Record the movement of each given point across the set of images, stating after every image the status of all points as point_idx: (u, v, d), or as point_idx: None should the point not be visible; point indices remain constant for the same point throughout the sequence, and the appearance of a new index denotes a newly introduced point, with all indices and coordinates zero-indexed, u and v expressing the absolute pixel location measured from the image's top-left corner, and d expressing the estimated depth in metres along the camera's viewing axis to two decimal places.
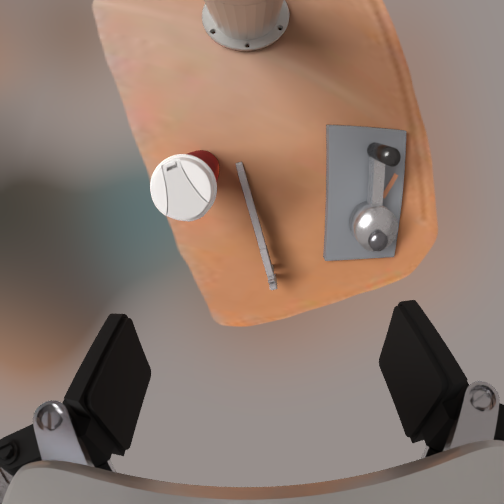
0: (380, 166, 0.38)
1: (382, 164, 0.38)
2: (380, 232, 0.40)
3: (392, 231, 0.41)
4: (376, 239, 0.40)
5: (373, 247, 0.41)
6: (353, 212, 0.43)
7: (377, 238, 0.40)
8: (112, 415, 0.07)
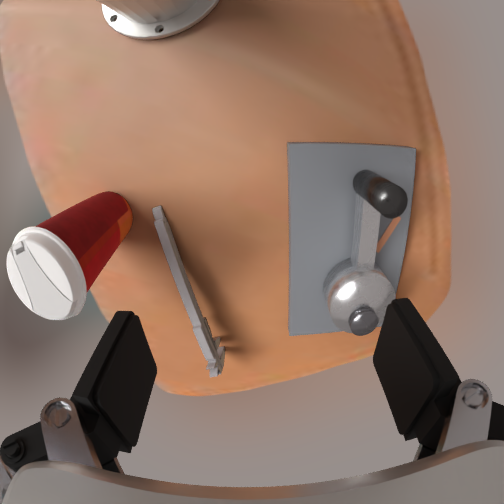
0: (373, 210, 0.24)
1: None
2: (367, 311, 0.27)
3: (386, 306, 0.27)
4: (360, 321, 0.27)
5: (355, 331, 0.27)
6: (329, 276, 0.30)
7: (362, 320, 0.27)
8: (120, 412, 0.07)
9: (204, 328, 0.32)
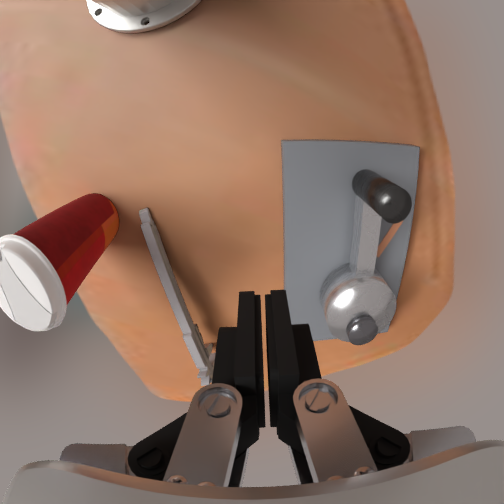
0: (373, 213, 0.22)
1: None
2: (366, 320, 0.25)
3: (386, 314, 0.26)
4: (358, 330, 0.25)
5: (353, 341, 0.26)
6: (326, 282, 0.28)
7: (360, 329, 0.25)
8: None
9: (195, 335, 0.30)
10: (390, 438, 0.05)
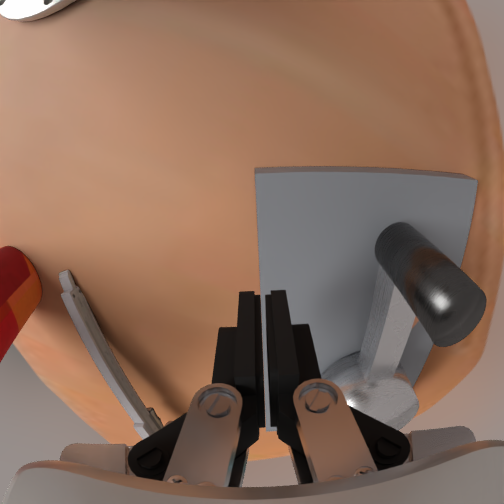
0: None
1: None
2: None
3: (403, 419, 0.16)
4: None
5: None
6: None
7: None
8: None
9: (149, 424, 0.20)
10: (390, 438, 0.05)
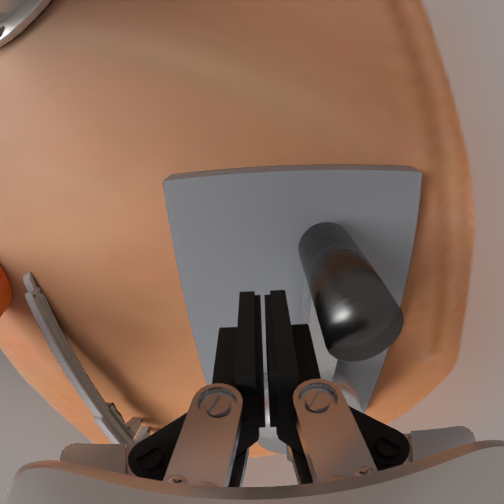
0: None
1: None
2: None
3: None
4: None
5: None
6: None
7: None
8: None
9: (109, 418, 0.20)
10: (390, 438, 0.05)
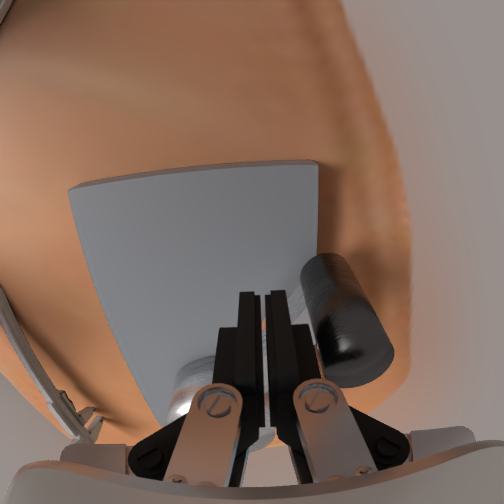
0: (310, 330, 0.13)
1: None
2: None
3: None
4: None
5: None
6: (192, 367, 0.18)
7: None
8: None
9: (59, 404, 0.20)
10: (390, 438, 0.05)
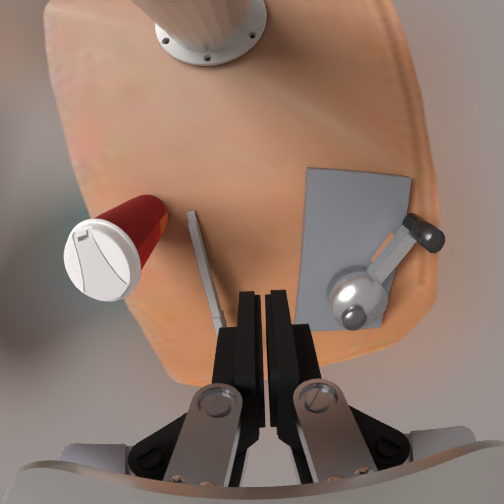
0: (408, 242, 0.31)
1: (412, 242, 0.31)
2: (363, 311, 0.32)
3: (373, 317, 0.33)
4: (354, 315, 0.32)
5: (345, 322, 0.32)
6: (345, 270, 0.35)
7: (356, 315, 0.32)
8: None
9: (222, 319, 0.37)
10: (390, 438, 0.05)
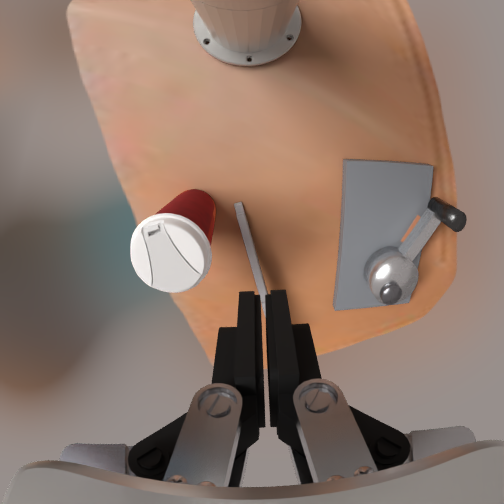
0: (434, 223, 0.33)
1: (437, 222, 0.33)
2: (398, 286, 0.35)
3: (406, 291, 0.36)
4: (391, 291, 0.35)
5: (384, 297, 0.35)
6: (380, 251, 0.37)
7: (393, 290, 0.35)
8: None
9: None
10: (390, 438, 0.05)
